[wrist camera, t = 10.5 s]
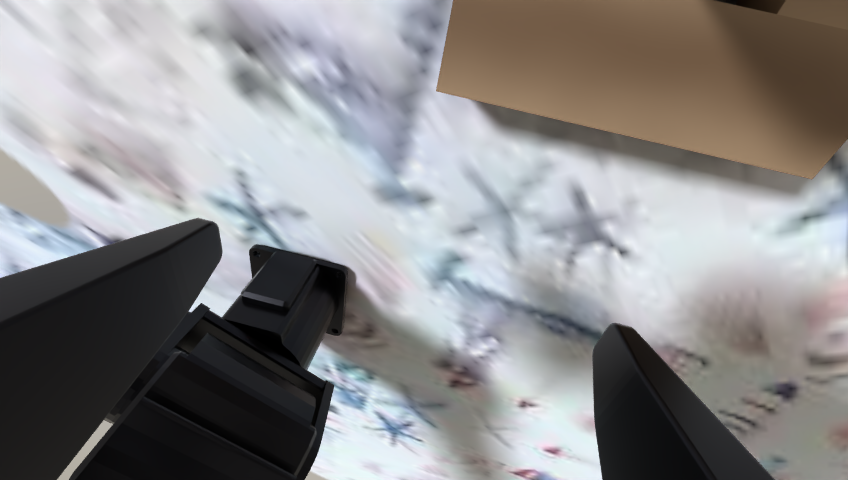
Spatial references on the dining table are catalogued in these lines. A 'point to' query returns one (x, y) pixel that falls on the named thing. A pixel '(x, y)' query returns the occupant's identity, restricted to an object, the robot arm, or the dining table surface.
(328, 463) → the dining table surface
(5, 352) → the robot arm
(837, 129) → the walnut block
